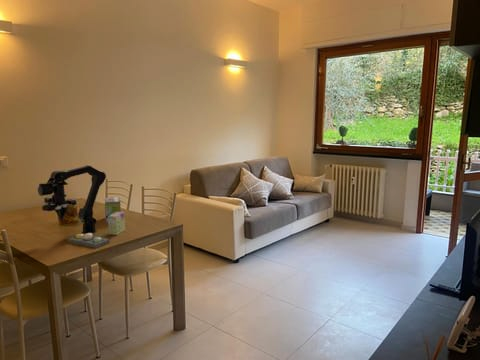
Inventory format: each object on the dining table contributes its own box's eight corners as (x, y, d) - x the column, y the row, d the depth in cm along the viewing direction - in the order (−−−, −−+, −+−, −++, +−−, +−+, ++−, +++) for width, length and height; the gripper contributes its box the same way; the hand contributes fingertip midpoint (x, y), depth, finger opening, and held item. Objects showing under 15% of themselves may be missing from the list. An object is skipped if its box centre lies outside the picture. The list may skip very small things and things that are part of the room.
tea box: (121, 221, 246) (120, 200, 243) (106, 223, 242) (104, 202, 239) (120, 216, 259) (119, 196, 257) (105, 217, 256) (104, 197, 253)
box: (117, 229, 229) (116, 211, 227) (125, 230, 228) (124, 212, 226) (108, 234, 218) (107, 216, 216) (117, 235, 218) (116, 216, 216)
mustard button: (80, 238, 210) (80, 233, 210) (85, 239, 209) (85, 234, 208) (74, 240, 207) (74, 235, 206) (79, 241, 205) (79, 236, 204)
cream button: (88, 237, 207) (88, 232, 207) (94, 238, 205) (93, 233, 205) (83, 239, 203) (82, 234, 203) (88, 240, 202) (87, 235, 201)
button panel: (82, 236, 214) (82, 233, 214) (109, 242, 205) (109, 239, 204) (68, 241, 205) (67, 238, 205) (95, 248, 196) (95, 244, 195)
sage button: (97, 241, 204) (97, 236, 204) (103, 242, 203) (103, 237, 202) (92, 243, 201) (91, 238, 200) (97, 245, 199) (97, 240, 198)
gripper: (63, 189, 217) (65, 214, 219) (34, 194, 200) (36, 221, 203) (76, 190, 212) (78, 216, 215) (48, 196, 195) (50, 224, 198)
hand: (61, 219), depth 208 cm, fingers closed
